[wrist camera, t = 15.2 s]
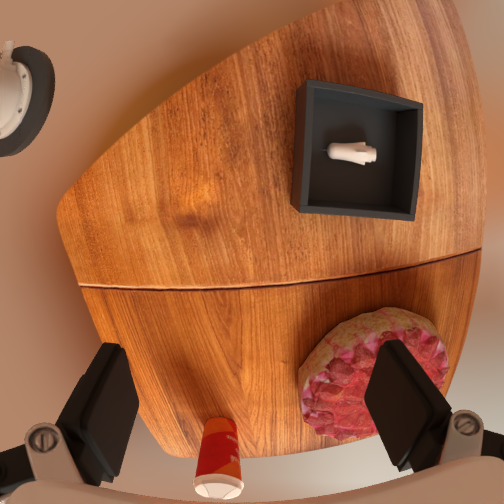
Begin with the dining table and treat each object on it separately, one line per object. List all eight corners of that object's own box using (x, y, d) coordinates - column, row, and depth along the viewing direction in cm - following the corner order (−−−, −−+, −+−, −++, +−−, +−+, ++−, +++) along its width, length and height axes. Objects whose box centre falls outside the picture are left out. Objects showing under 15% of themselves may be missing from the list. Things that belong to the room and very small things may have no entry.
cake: (451, 292, 38) (478, 319, 31) (416, 401, 47) (430, 430, 40) (296, 311, 39) (303, 348, 32) (294, 421, 48) (298, 456, 41)
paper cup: (238, 440, 47) (239, 502, 34) (197, 434, 47) (190, 497, 33) (246, 415, 45) (249, 483, 32) (201, 409, 44) (193, 477, 31)
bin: (296, 89, 30) (306, 78, 25) (400, 108, 31) (423, 103, 26) (290, 204, 35) (299, 213, 29) (392, 212, 35) (414, 221, 30)
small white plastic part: (330, 125, 31) (339, 122, 28) (372, 151, 32) (384, 151, 29) (317, 151, 32) (325, 151, 29) (360, 176, 33) (370, 178, 30)
